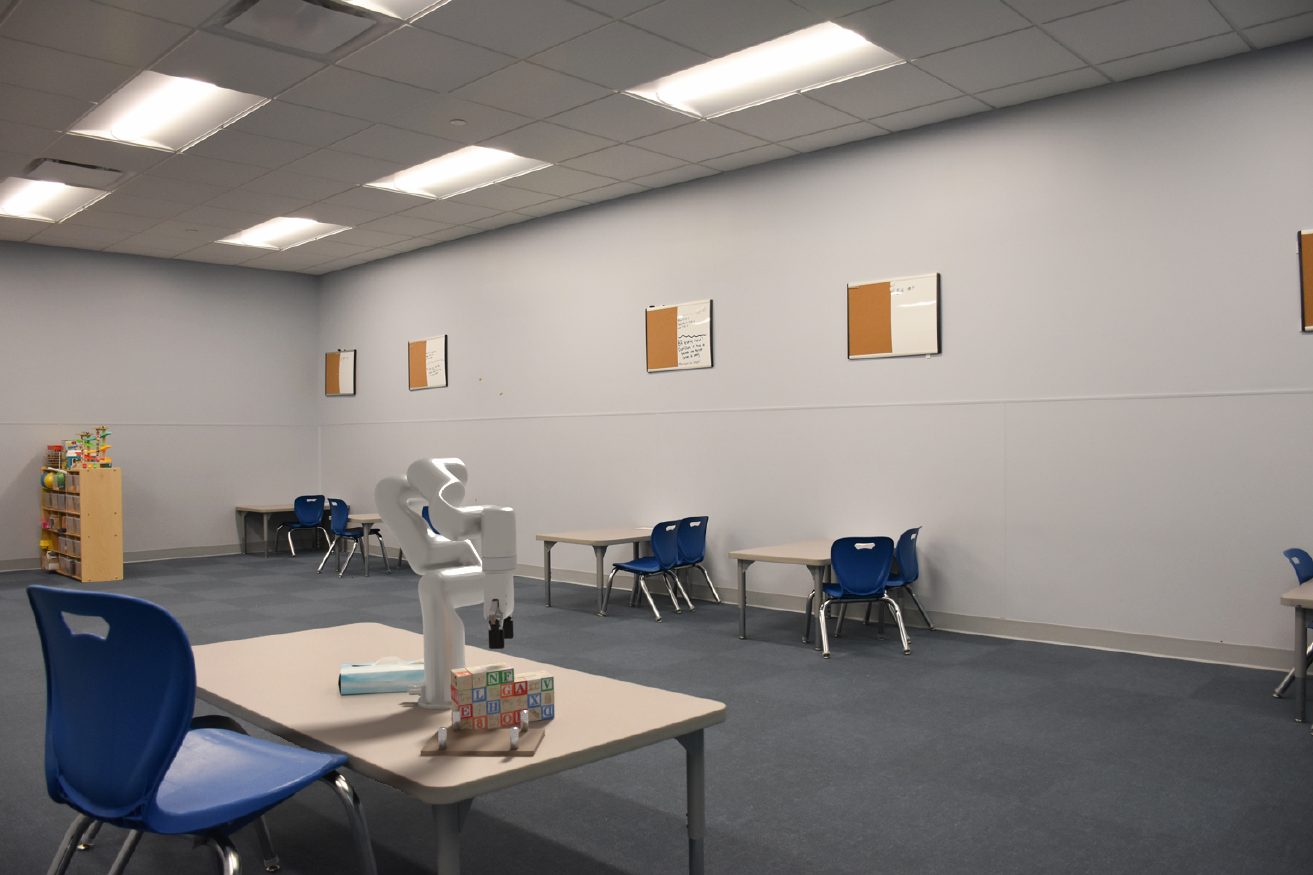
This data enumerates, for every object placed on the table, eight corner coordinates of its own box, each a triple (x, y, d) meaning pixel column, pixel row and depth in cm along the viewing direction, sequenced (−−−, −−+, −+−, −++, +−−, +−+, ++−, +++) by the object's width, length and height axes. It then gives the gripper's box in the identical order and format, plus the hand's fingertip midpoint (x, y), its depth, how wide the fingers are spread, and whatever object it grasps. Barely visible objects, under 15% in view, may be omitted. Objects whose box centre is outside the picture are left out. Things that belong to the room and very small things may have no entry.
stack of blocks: (545, 710, 207) (544, 656, 207) (555, 718, 201) (554, 662, 201) (450, 725, 197) (449, 668, 197) (458, 734, 192) (457, 675, 192)
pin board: (420, 758, 177) (420, 730, 177) (439, 735, 190) (438, 709, 190) (534, 758, 176) (533, 730, 176) (544, 735, 189) (544, 709, 189)
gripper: (491, 559, 208) (493, 635, 208) (472, 570, 190) (474, 653, 190) (524, 558, 207) (526, 634, 207) (508, 569, 190) (510, 652, 190)
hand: (501, 643), depth 199 cm, fingers open, 9 cm apart
